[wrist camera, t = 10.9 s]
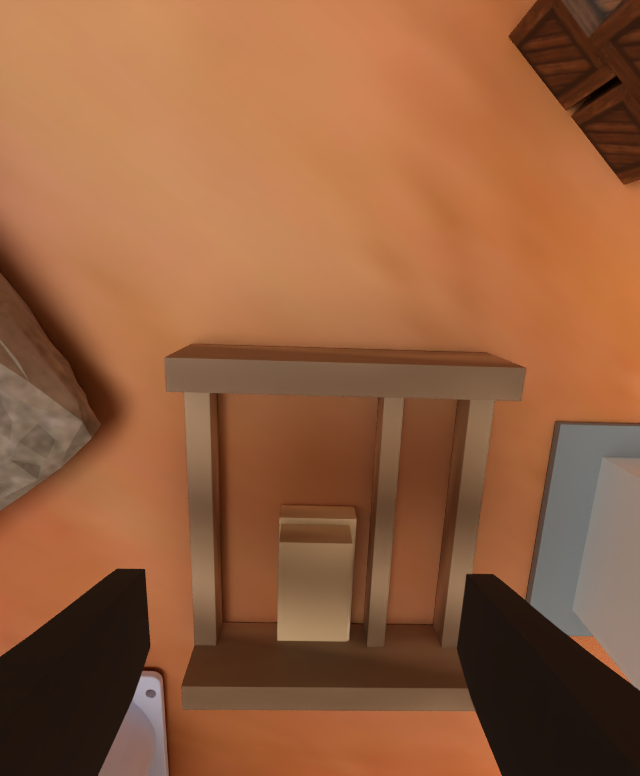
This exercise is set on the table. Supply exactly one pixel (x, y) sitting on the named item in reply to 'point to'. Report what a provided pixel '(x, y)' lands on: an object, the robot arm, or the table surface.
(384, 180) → the table surface
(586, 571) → the panel
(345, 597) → the offcut stack
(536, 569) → the mat
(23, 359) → the stone tablet
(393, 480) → the rack
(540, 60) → the dark brown block piece
